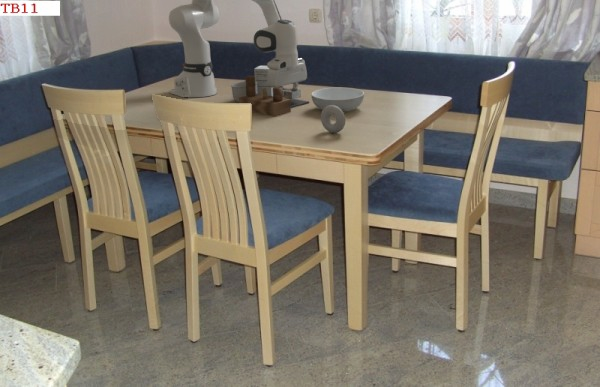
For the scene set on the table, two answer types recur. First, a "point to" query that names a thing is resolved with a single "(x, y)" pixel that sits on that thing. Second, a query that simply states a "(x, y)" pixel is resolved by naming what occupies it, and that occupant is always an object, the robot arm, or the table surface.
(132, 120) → the table surface
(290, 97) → the lever cap
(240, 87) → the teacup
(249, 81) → the wooden peg stand
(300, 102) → the rubber mat
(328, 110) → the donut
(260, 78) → the supplement box
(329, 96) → the serving bowl
